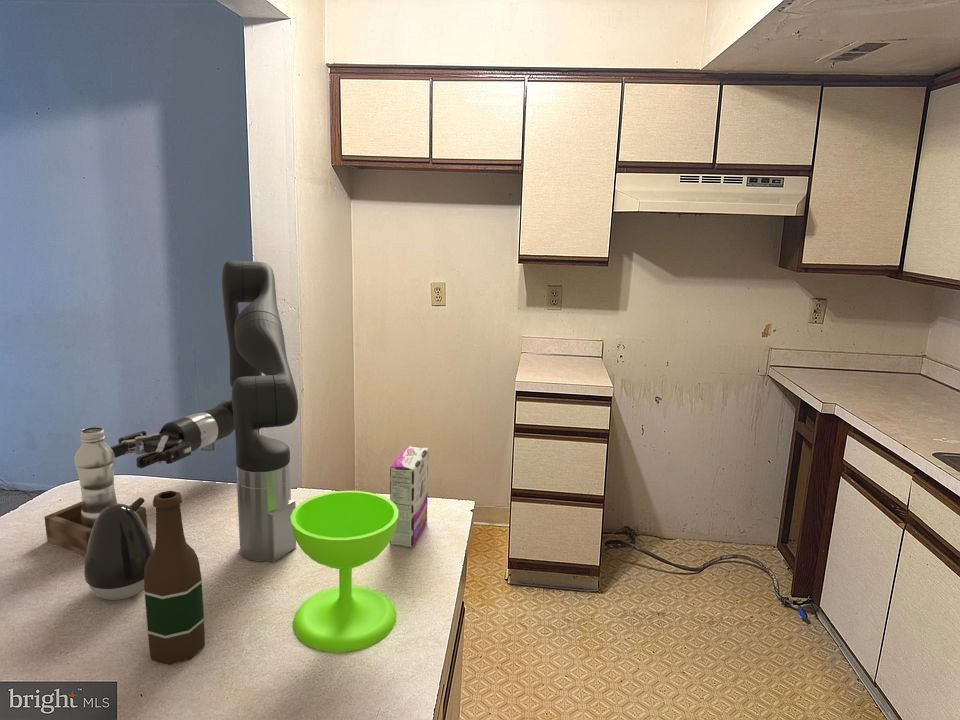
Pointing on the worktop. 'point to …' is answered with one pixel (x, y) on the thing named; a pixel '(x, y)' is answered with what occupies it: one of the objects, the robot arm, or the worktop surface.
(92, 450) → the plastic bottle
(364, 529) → the wineglass
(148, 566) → the beer bottle
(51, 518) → the u rest
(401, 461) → the candy bar box
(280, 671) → the worktop surface
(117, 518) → the black egg-shaped dispenser
